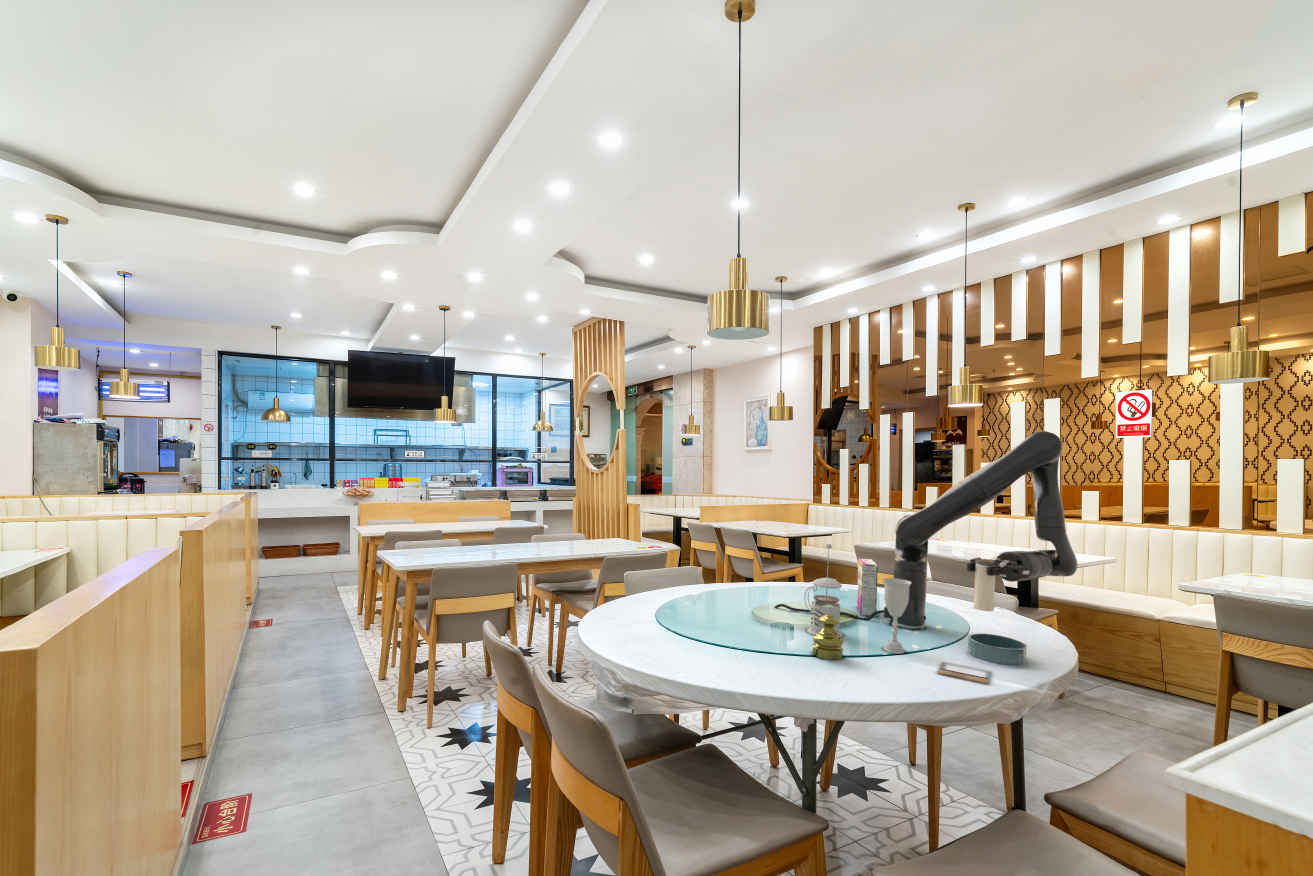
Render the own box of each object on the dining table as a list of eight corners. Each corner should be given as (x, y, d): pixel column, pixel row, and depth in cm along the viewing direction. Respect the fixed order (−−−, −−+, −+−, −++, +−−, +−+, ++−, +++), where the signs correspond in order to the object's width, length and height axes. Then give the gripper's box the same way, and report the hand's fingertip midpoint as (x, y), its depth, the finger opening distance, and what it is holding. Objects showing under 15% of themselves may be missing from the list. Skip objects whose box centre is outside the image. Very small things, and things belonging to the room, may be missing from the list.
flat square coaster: (938, 674, 144) (938, 672, 144) (943, 662, 153) (943, 661, 153) (987, 684, 139) (987, 682, 139) (989, 672, 148) (989, 670, 148)
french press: (829, 640, 167) (834, 547, 167) (794, 629, 175) (798, 541, 176) (849, 634, 173) (853, 545, 174) (814, 624, 182) (818, 539, 182)
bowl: (965, 659, 156) (966, 641, 156) (969, 647, 167) (970, 630, 167) (1025, 671, 149) (1026, 652, 149) (1025, 657, 160) (1026, 640, 161)
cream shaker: (973, 609, 151) (975, 560, 152) (974, 605, 155) (976, 558, 155) (993, 612, 149) (995, 562, 149) (994, 608, 153) (996, 560, 153)
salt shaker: (848, 656, 154) (849, 616, 154) (834, 662, 148) (836, 621, 148) (821, 648, 159) (822, 609, 159) (806, 654, 153) (808, 614, 153)
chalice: (894, 656, 156) (897, 584, 156) (873, 647, 162) (876, 579, 162) (914, 653, 159) (917, 583, 160) (893, 645, 165) (896, 577, 166)
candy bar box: (855, 607, 206) (857, 558, 206) (871, 608, 205) (873, 559, 205) (859, 615, 195) (862, 563, 195) (876, 617, 194) (878, 565, 194)
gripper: (992, 546, 166) (952, 549, 157) (1048, 556, 153) (1007, 559, 145) (991, 574, 166) (951, 578, 157) (1047, 586, 153) (1006, 591, 145)
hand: (978, 569), depth 151 cm, fingers closed on cream shaker, 4 cm apart
